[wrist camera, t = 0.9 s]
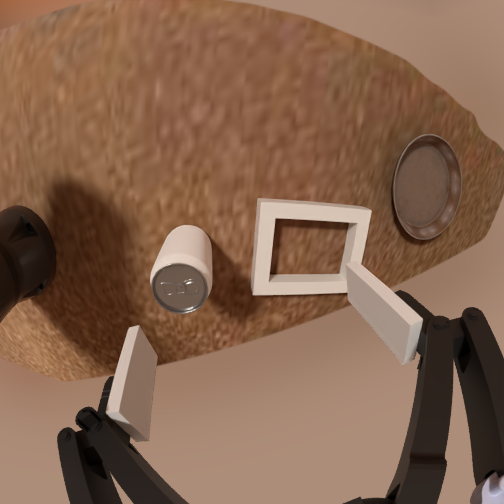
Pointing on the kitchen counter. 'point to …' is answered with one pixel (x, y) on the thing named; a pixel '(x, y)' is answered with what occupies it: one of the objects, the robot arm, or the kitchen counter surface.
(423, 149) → the plant saucer
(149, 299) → the kitchen counter surface
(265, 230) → the socket collar
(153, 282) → the can
